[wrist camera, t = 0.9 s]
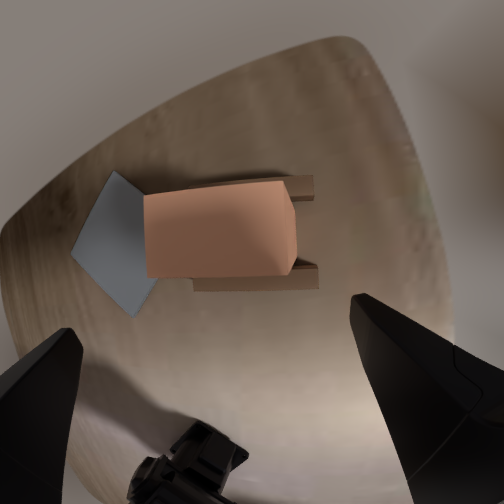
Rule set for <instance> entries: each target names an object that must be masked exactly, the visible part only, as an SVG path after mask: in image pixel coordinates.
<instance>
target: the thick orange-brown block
mask: <svg viewBox="0 0 504 504" xmlns="http://www.w3.org/2000/svg"><path fill="white" fill-rule="evenodd" d="M144 233H145V253H146V268H147V278H208V277H250V276H282V275H288V274H289V272H290V270H291V268H292V266H293V264H294V262H295V260H296V258H297V242H296V223H295V210H294V207H293V205H292V202H291V200H290V197H289V195H288V192H287V190H286V187H285V185H284V182H283V181H270V182H258V183H246V184H235V185H225V186H215V187H206V188H197V189H189V190H181V191H173V192H166V193H158V194H151V195H145V196H144Z"/></svg>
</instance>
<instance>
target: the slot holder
mask: <svg viewBox="0 0 504 504" xmlns="http://www.w3.org/2000/svg"><path fill="white" fill-rule="evenodd" d="M270 181H283V182H284V185H285V187H286V190H287V192H288V195H289V197H290V200H291V202H295V201H313V199H314V184H313V175H303V176H286V177H272V178H259V179H247V180H237V181H227V182H217V183H208V184H200V185H191V186H189V189H197V188H206V187H215V186H225V185H235V184H246V183H258V182H270ZM193 288H194V291H271V290H303V289H319V278H318V267H317V265H297V266H292V268H291V270H290V272H289V274H288V275H282V276H250V277H208V278H193Z"/></svg>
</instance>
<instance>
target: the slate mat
mask: <svg viewBox="0 0 504 504" xmlns="http://www.w3.org/2000/svg"><path fill="white" fill-rule="evenodd" d="M144 196H145V194H144V193H142V192H141V191H140V190H139V189H137V188H136V187H135V186H134V185H132V184H131V183H130V182H129V181H127V180H126V179H125V178H124V177H122V176H121V175H120V174H119V173H117V172H116V171H113V172H112V174H111V176H110V177H109V179H108V181H107V183H106V184H105V186H104V188H103V190H102V191H101V193H100V195H99V197H98V199H97V201H96V203H95V204H94V206H93V208H92V210H91V212H90V214H89V216H88V218H87V220H86V222H85V224H84V226H83V228H82V230H81V232H80V234H79V237H78V239H77V241H76V243H75V245H74V247H73V250H72V252H71V255H72V256H73V258H74V259H75V260H76V261H77V262H78V263H79V264H80V265H81V266H82V267H83V269H84V270H85V271H86V272H87V273H88V274H89V275H90V276H91V277H92V278H93V279H94V280H95V281H96V282H97V283H98V284H99V286H100V287H101V288H102V289H103V290H104V291H105V292H106V293H107V294H108V295H109V296H110V297H111V298H112V299H113V300H114V301H115V302H116V303H117V304H118V305H119V306H121V307H122V308H123V309H124V310H125V311H126V312H127V313H128V314H129V315H130V316H131V317H132V318H135V317H136V315H137V313H138V311H139V310H140V308H141V306H142V305H143V303H144V301H145V300H146V298H147V296H148V295H149V293H150V291H151V290H152V288H153V286H154V285H155V283H156V281H157V280H158V278H147V268H146V253H145V233H144Z"/></svg>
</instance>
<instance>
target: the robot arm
mask: <svg viewBox="0 0 504 504" xmlns="http://www.w3.org/2000/svg"><path fill="white" fill-rule="evenodd" d="M350 324H351V328H352V331H353V334H354V338H355V341H356V344H357V348H358V351H359V355H360V358H361V361H362V365H363V367H364V370H365V373H366V375H367V377H368V380H369V382H370V385H371V387H372V389H373V392H374V394H375V397H376V399H377V402H378V404H379V407H380V409H381V412H382V414H383V417H384V420H385V422H386V425H387V427H388V430H389V433H390V435H391V438H392V441H393V443H394V446H395V449H396V451H397V454H398V457H399V460H400V463H401V465H402V468H403V471H404V474H405V477H406V480H407V483H408V486H409V489H410V492H411V495H412V499H413V502H414V504H504V371H503V370H501V369H499V368H497V367H495V366H493V365H491V364H489V363H487V362H485V361H483V360H481V359H479V358H477V357H475V356H473V355H472V354H470V353H468V352H466V351H465V350H463V349H461V348H459V347H458V346H456V345H453V344H452V343H451V342H449V341H448V340H446V339H444V338H442V337H441V336H439V335H437V334H436V333H434V332H432V331H431V330H429V329H427V328H425V327H424V326H422V325H420V324H419V323H417V322H415V321H413V320H412V319H410V318H408V317H406V316H405V315H403V314H401V313H399V312H398V311H396V310H394V309H392V308H391V307H389V306H387V305H386V304H384V303H382V302H380V301H378V300H377V299H375V298H373V297H371V296H370V295H368V294H366V293H362V294H356V295H353V296H352V298H351V306H350ZM82 358H83V346H82V344H81V342H80V341H79V339H78V337H77V335H76V334H75V332H74V330H73V329H72V328H61V329H59V330H58V331H57V332H55V333H54V334H53V335H51V336H50V337H49V338H47V339H46V340H45V341H44V342H42V343H41V344H40V345H38V346H37V347H36V348H34V349H33V350H32V351H31V352H29V353H28V354H27V355H25V356H24V357H23V358H22V359H20V360H19V361H18V362H17V363H15V364H14V365H13V366H12V367H10V368H9V369H8V370H7V371H5V372H4V373H3V374H2V375H0V504H61V503H62V486H63V475H64V466H65V458H66V451H67V444H68V437H69V431H70V426H71V420H72V415H73V410H74V405H75V400H76V396H77V391H78V385H79V377H80V370H81V364H82ZM198 425H199V426H200V427H199V426H198ZM170 451H171V453H173V454H174V456H173V457H172V459H171V460H169V459H168V457H167V456H166V455H164V454H163V455H162V456H160V457H159V458H152V457H146V458H145V459H144V460H143V462H142V463H141V464H140V465H139V467H138V468H137V469H136V471H135V473H134V475H133V477H132V479H131V481H130V485H129V489H128V494H127V500H128V501H130V503H129V504H237V503H235V502H234V503H233V502H232V501H230V500H228V499H227V498H225V497H223V496H222V495H221V493H222V491H223V488H224V486H225V483H226V481H227V478H228V476H229V473H230V472H231V471H232V470H234V469H235V468H236V467H238V466H239V465H240V464H242V463H243V462H244V461H245V460H247V459H248V457H249V453H248V452H246V451H245V450H243V449H241V448H240V447H238V446H237V445H235V444H233V443H232V442H230V441H229V440H227V439H226V438H224V437H223V436H221V435H220V434H218V433H217V432H215V431H214V430H212V429H211V428H209V427H208V426H206V425H205V424H204V423H202V422H200V421H197V422H195V423H194V424H193V425H192V427H191V428H190V429H189V430H188V431H187V432H186V433H185V434H184V435H183V436H182V437H181V438H180V439H179V440H178V441H177V442H176V443H175V444H174V445H173V446H172V447H171V448H170ZM243 455H245V456H243Z"/></svg>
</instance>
